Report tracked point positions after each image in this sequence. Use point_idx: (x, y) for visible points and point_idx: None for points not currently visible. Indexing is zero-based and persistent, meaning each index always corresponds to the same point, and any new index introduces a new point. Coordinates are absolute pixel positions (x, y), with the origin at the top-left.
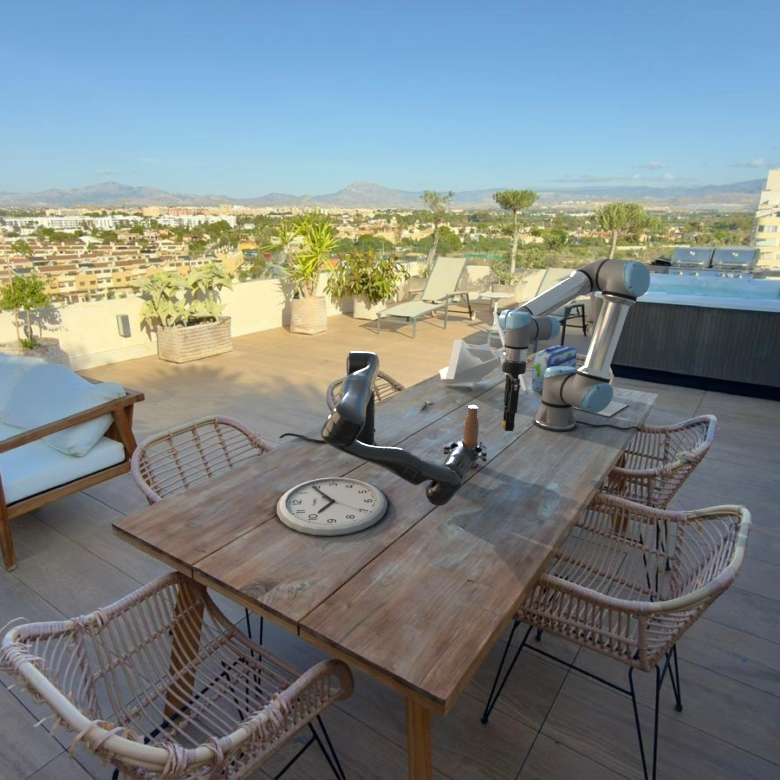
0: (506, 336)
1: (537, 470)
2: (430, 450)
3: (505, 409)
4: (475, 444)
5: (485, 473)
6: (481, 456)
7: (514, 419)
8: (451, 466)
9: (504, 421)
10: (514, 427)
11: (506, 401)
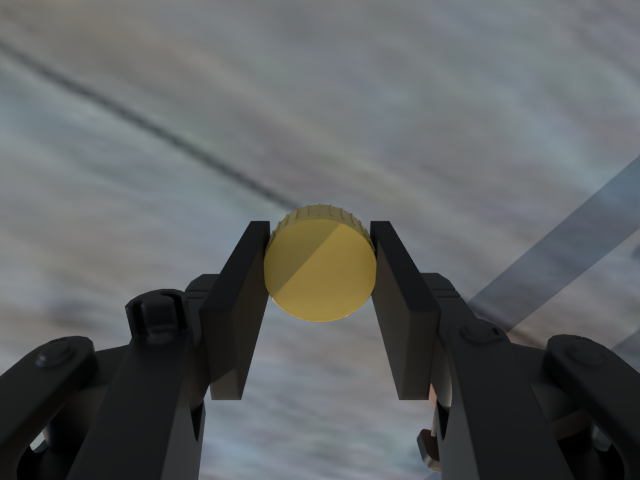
0: None
1: (530, 56)
2: (320, 460)
3: (245, 372)
4: None
5: (529, 304)
6: None
7: (414, 266)
8: None
9: (295, 300)
10: (332, 207)
11: (196, 464)
